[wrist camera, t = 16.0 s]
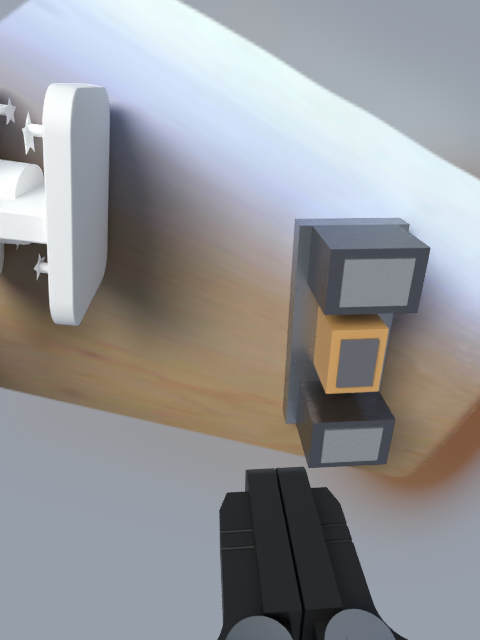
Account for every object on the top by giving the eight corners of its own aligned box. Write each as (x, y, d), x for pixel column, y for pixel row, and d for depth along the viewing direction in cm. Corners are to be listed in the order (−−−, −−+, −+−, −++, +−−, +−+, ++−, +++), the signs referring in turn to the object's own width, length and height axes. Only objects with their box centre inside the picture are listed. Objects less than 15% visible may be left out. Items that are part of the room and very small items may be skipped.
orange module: (318, 305, 40) (333, 332, 35) (369, 303, 40) (390, 330, 36) (313, 363, 43) (326, 396, 38) (361, 361, 43) (379, 393, 39)
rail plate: (282, 411, 47) (297, 470, 40) (295, 219, 38) (317, 250, 31) (368, 407, 48) (397, 465, 41) (400, 217, 39) (445, 248, 32)
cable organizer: (109, 279, 40) (77, 349, 29) (-21, 266, 38) (-102, 333, 28) (114, 87, 33) (75, 88, 23) (-43, 61, 32) (-161, 50, 21)
